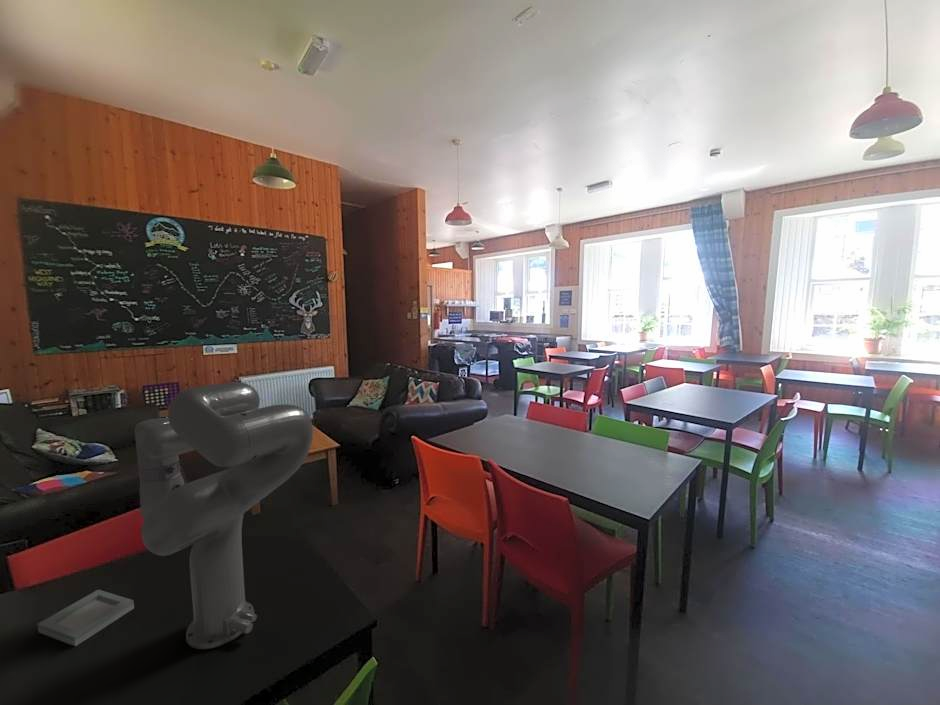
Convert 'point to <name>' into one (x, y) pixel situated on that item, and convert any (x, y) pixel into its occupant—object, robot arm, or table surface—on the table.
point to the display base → (85, 617)
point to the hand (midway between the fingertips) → (167, 543)
